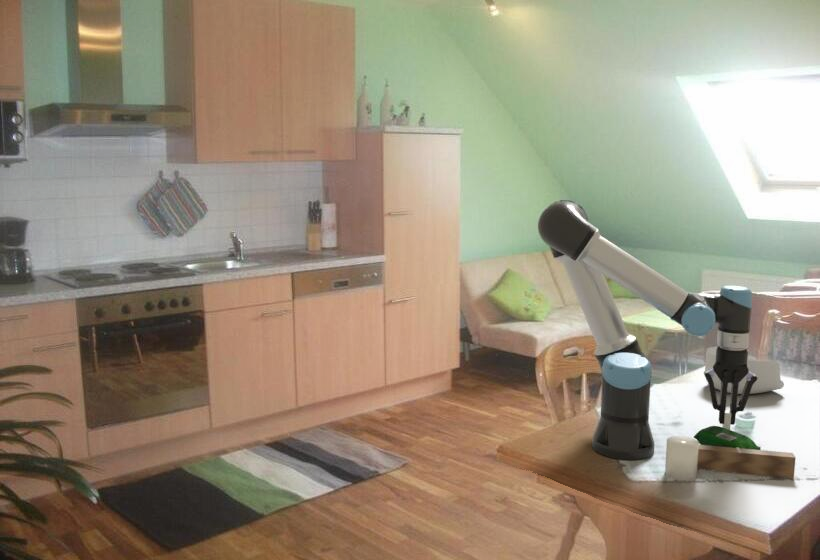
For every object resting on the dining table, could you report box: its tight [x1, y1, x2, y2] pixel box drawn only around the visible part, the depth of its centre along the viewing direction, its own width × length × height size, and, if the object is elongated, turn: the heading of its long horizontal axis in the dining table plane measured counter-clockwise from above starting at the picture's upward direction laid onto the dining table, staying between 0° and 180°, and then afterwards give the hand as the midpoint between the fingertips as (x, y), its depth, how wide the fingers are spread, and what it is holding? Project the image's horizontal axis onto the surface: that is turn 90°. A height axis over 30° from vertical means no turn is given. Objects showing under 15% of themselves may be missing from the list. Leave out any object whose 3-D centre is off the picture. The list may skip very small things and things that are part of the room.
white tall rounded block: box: [664, 435, 700, 481], centre depth 190 cm, size 7×7×8 cm
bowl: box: [704, 345, 785, 395], centre depth 257 cm, size 20×19×12 cm
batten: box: [697, 444, 796, 479], centre depth 192 cm, size 22×3×5 cm, turn 76°
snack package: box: [693, 425, 762, 450], centre depth 204 cm, size 7×16×5 cm, turn 29°
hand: (725, 435), depth 212 cm, fingers closed
